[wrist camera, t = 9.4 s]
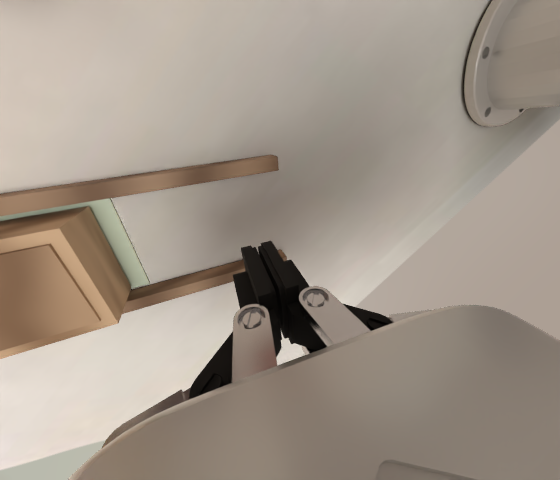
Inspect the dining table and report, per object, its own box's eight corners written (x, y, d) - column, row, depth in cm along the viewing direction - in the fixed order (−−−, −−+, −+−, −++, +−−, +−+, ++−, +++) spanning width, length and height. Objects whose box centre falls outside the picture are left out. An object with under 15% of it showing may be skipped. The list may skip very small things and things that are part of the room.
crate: (88, 206, 15) (57, 229, 11) (131, 287, 18) (117, 325, 15) (-52, 230, 13) (-142, 267, 9) (24, 315, 16) (-21, 367, 13)
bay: (271, 154, 18) (279, 157, 16) (281, 257, 23) (289, 268, 21) (-137, 213, 12) (-191, 227, 10) (-5, 338, 16) (-28, 362, 15)
